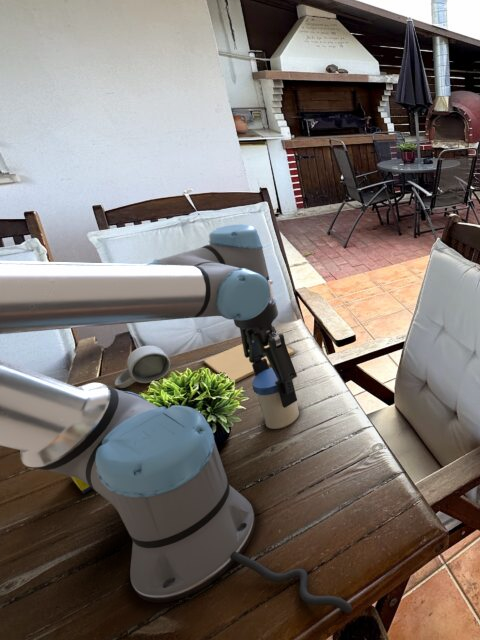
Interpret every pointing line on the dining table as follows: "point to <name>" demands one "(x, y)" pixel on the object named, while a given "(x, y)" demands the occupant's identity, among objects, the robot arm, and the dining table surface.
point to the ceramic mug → (144, 366)
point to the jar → (277, 411)
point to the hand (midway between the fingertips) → (277, 394)
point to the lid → (265, 383)
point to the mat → (234, 363)
